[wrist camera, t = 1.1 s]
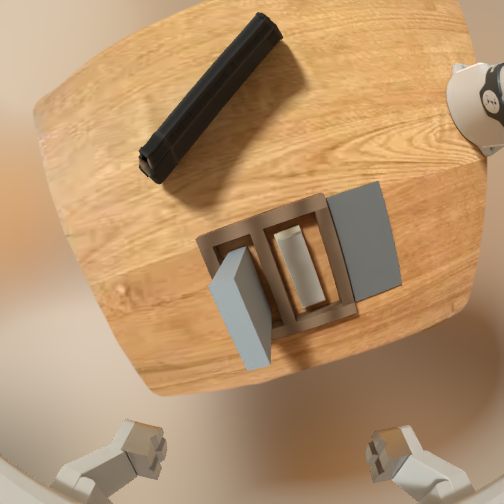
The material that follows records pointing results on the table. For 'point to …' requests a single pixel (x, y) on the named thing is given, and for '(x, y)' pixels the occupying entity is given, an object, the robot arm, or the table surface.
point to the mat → (365, 240)
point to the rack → (256, 230)
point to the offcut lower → (277, 236)
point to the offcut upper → (301, 268)
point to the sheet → (244, 307)
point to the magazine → (207, 98)
